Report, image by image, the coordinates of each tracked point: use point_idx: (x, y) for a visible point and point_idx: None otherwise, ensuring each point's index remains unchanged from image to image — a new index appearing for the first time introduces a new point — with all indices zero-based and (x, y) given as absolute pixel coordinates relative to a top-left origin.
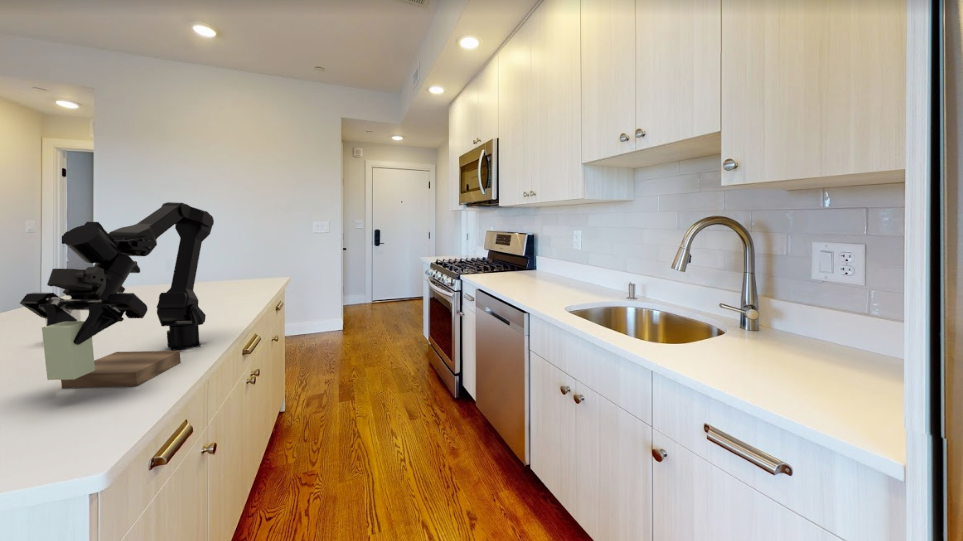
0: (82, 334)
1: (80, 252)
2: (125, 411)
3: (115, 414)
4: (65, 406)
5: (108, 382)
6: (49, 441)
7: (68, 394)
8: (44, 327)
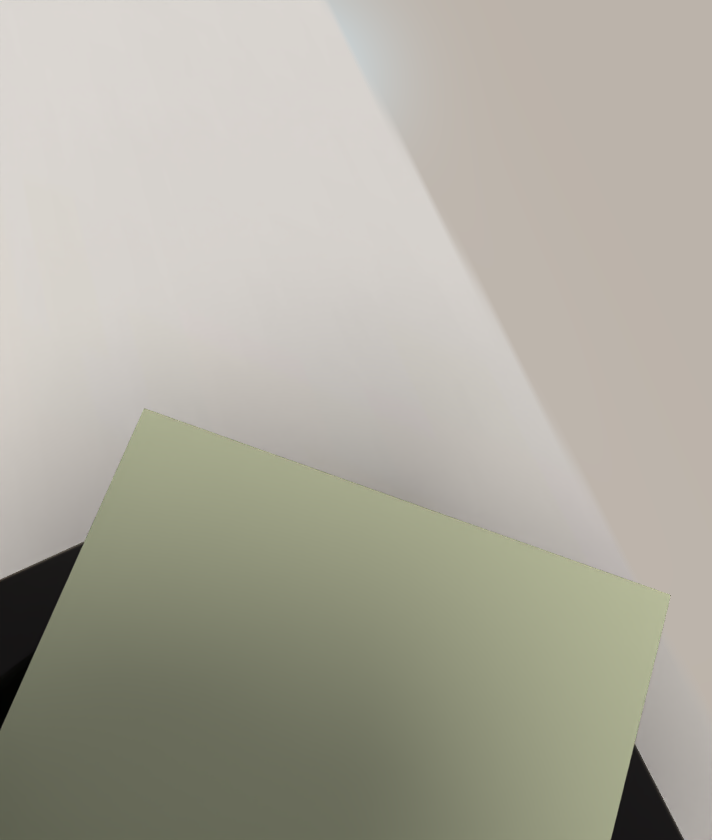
0: (75, 556)
1: None
2: (48, 324)
3: (85, 303)
4: None
5: None
6: (262, 120)
7: None
8: (614, 576)
